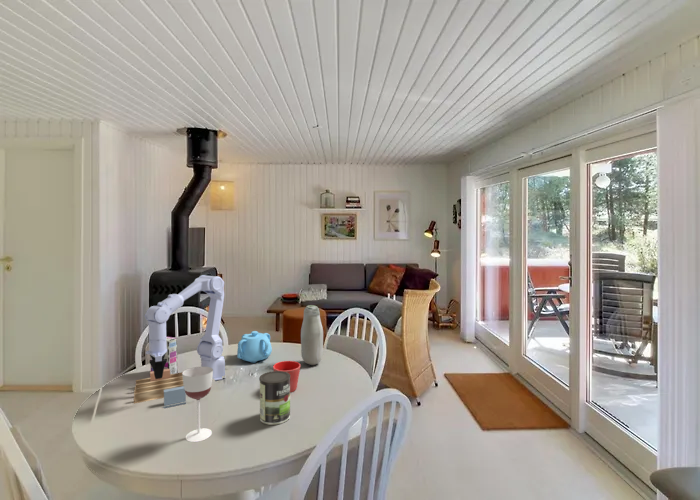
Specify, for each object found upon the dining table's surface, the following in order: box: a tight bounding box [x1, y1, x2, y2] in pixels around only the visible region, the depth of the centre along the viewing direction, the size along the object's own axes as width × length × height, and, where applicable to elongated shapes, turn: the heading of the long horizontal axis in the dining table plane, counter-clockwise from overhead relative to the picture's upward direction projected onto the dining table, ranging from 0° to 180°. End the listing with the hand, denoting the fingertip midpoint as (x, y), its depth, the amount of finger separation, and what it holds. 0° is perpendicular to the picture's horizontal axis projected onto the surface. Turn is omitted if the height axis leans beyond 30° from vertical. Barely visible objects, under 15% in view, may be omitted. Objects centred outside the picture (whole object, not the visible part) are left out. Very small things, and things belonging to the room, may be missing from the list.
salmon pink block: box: [149, 369, 170, 382], centre depth 146 cm, size 7×2×6 cm, turn 120°
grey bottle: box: [300, 304, 324, 366], centre depth 173 cm, size 10×10×28 cm
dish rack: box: [133, 371, 184, 404], centre depth 142 cm, size 18×16×4 cm
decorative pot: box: [236, 330, 273, 364], centre depth 180 cm, size 16×16×14 cm
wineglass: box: [182, 366, 213, 443], centre depth 112 cm, size 8×9×20 cm
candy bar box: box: [149, 336, 179, 374], centre depth 159 cm, size 11×5×16 cm, turn 68°
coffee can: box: [258, 370, 291, 426], centre depth 123 cm, size 10×10×14 cm
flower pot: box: [272, 360, 301, 394], centre depth 145 cm, size 11×11×10 cm
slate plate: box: [163, 386, 187, 409], centre depth 132 cm, size 7×2×6 cm, turn 119°
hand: (158, 374), depth 135 cm, fingers open, 7 cm apart
